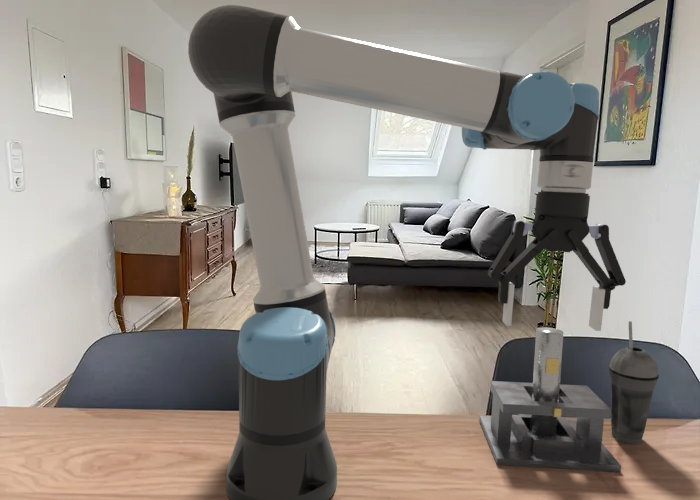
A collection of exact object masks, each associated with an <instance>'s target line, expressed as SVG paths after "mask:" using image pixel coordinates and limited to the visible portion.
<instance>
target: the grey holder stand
mask: <svg viewBox="0 0 700 500" xmlns="http://www.w3.org/2000/svg"><path fill="white" fill-rule="evenodd" d="M532 389H533V382H522V381H521V382H519V381H498V380H490V388H489V390H490V392H491V394H492V403H491V415H479V420H478V421H479V423H480V426H481V428H482V431H483V434H484V436H485V438H486V441H487V444H488V445H489V449H490V451H491V453H492V456H493V459H494V461H495V463H496V465H498V466H499V465H500V466H502V465H503V466H515V467H533V468H534V467H535V468H547V469H567V470H580V471H581V470H582V471H583V470H584V471H585V470H586V471H597V472H600V471H601V472H610V473H611V472H614V473H622V465H621V463H620V462H619V461H618V460H617V458H616V457H615V456H614V455H613V454H612V453H611V452H610V451H609V450H608V448H607V447H606V446H605V444H604V443H603V435H604V434H603V432H604V423H605V422H604V421H605V420H611V407H609V406H608V405H607V404H606V402H604V401H603V399H601V398H600V397H599V396H598V395H597V394H596V393H595V392H594V391H593V390H592V388H590V387H589V386H588V385H579V384H578V385H577V384H561V383H560V389H559V399H560V400H561V401H563V402H559V403H554V402H535V401H533V400H532ZM531 415H545V416H554V417H557V431H556V436H545V435H531V433H530V421H531ZM566 417H568V418H576V420H572V419H571V420H569V419H567V418H566Z"/></svg>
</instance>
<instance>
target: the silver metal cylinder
mask: <svg viewBox="0 0 700 500" xmlns="http://www.w3.org/2000/svg"><path fill="white" fill-rule="evenodd" d="M563 343H564V331H563V330H560V329H558V328H553V327H537V328H536V330H535V346H534V358H533V360H534V361H533V374H532V377H533V378H532V383H533V389H532V395H531V398H532V400H533V401H535V402H554V403H560V402H559V401H560V397H559V389H560V384H561V374H562V373H561V372H562V357H563V345H564V344H563ZM556 431H557V417H554V416H545V415H531V421H530V433H531V435H545V436H556Z"/></svg>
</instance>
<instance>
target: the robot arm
mask: <svg viewBox="0 0 700 500" xmlns="http://www.w3.org/2000/svg"><path fill="white" fill-rule="evenodd" d="M188 39H189V40H188V44H187V45H188V59H189V63H190V66H191V69H192V71H193V73H194V74H195V76H196V78H197V80H198V81H199V82H200V83H201V84H202V85H203V86H204V88H206V89H207V90H208V91H210V92H211V93H213V98H214V102H215V103H214V104H215V107H216V112H217V116H218V117H217V118H218V122H219V126H220V128H222V129H223V130H224V131H226V132H227V133H228V134H230V136H231V137H232V142H233V147H234V153H235V157H236V164H237V168H238V169H237V170H238V174H239V179H240V184H241V190H242V195H243V196H242V197H243V200H244V206H245V207H244V208H245V212H246V216H247V221H248V227H249V232H250V237H251V243H252V249H253V253H254V259H255V265H256V269H257V275H258V281H259V286H260V287H259V290H258V292H256V294H255V296H253V299H252V301H253V308H254V314H252V315H251V316H249V317H248V318H246V319H245V320H244V322H243V323H242V325H241V327H240V329H239V334H238V335H239V336H238V340H237V341H238V342H237V346H236V347H237V348H236V349H237V358H238V408H239V409H238V414H239V415H238V416H239V417H238V423H239V424H238V425H239V426H238V427H239V432H238V436H237V437H236V441H235V444H234V447H233V450H232V453H231V457H230V459H229V462H228V465H227V468H226V476H225V477H226V478H225V481H226V482H225V483H226V484H225V485H226V490H225V491H226V494H227V497H228V499H229V500H330V499H331V498H332V496H333V494H334V493H335V492H336V489H337V485H338V465H337V461H336V457H335V454H334V451H333V449H332V446H331V445H332V444H331V442H330V438H329V436H328V432H327V430H326V413H327V412H326V411H327V410H326V408H327V407H326V403H327V373H328V368H329V363H330V359H331V358H330V357H331V353H332V350H333V347H334V344H335V338H336V332H337V331H336V324H335V323H336V322H335V319H334V316H333V314H332V312H331V311H330V308H329V304H328V298H327V292H326V286H325V285H324V284H323V283H322V282H320V281H319V280H318V279H316V278H315V276H314V272H313V266H312V260H311V254H310V249H309V243H308V237H307V231H306V226H305V220H304V215H303V214H304V213H303V209H302V203H301V197H300V192H299V185H298V181H297V180H298V179H297V175H296V169H295V167H296V166H295V163H294V157H293V152H292V145H291V139H290V135H289V134H290V132H289V126H290V125H291V123H292V122H293V120H294V119H295V117H296V111H295V110H296V109H295V106H294V105H295V103H294V101H293V100H294V99H293V93H297V94H302V95H307V96H311V97H316V98H322V99H325V100H326V99H327V100H329V101H336V102H341V103H345V104H349V105H355V106H360V107H364V108H369V109H374V110H377V111H383V112H388V113H393V114H397V115H403V116H407V117H411V118H416V119H422V120H426V121H431V122H436V123H441V124H444V125H445V124H446V125H449V126H453V127H454V126H455V127H458V128H461V138H462V142H463V144H464V145H465V146H466V147H468V148H474V149H475V148H477V149H482V150H487V149H491V150H492V149H493V150H530V151H539V153H540V154H539V155H540V156H539V160H538V161H539V166H538V173H537V175H538V176H537V184H536V186H537V188H540V191H537V193H536V198H535V208H534V218H533V221H532V223H531V222H525V221H523V220H518V219H517V220H514V221H513V222H512V226H511V230H510V234H509V236H508V238H507V239H506V241H505V243H504V244H503V245H502V247H501V249H500V251H499V253H498V254H497V256H496V257H495V259H494V261H493V263H492V264H491V265H490V267H489V269H488V270H487V275H488V276H489V278H491V279H492V280H496V281H498V290H497V291H498V293H497V299H498V302H499V303H500V304H503V305H502V306H503V309H502V310H503V311H502V322H503V324H504V325H505V326H507V327H512V322H513V321H512V319H513V309H514V297H515V287H516V286H515V284H514V283H513V282H511V281H513V279H515V277H516V276H518V274H519V273H521V272H522V270H523V269H525V268H526V267H527V266H528V265H529V263H531V262H532V261H533V260H534V259H535V257H536V256H537V255H538V254H539V255H540V254H541V253H542V252H543V251H544V250H545V251H547V252H552V253H553V252H562V253H571V252H573V253H575V255H576V257H578V259H579V261H581V263H582V264H583V266H585V268H586V269H587V271H588V272H589V273H590V274H591V276H592V277H593V279H594V281H596V283H597V284H598V285H592V290H591V291H592V292H591V301H590V302H591V303H590V308H589V309H590V310H589V319H588V321H589V322H588V326H589V327H590V328H592V330H594V331H597V332H601V330H602V325H603V316H604V315H603V313H604V310H608V309H609V308H610V304H611V293H612V291H613V290H615V289H616V287H619V286H622V287H623V286H624V285H626V282H627V281H626V278H625V275H624V273H623V271H622V268H621V266H620V263H619V260H618V259H617V255H616V254H615V252H614V251H615V250H614V248H613V246H612V243H611V240H610V227H609V225H608V224H605V223H604V224H603V223H596V224H594V225H592V224H591V225H589V223H588V218H589V208H590V199H591V195H589V193H586V192H587V190H590V189H591V187H592V178H593V168H594V154H595V145H596V137H597V129H598V123H599V122H598V121H599V120H600V92H599V90H598V88H597V87H596V86H595V85H593V84H589V83H584V82H572V83H569V82H568V81H567V80H566V79H565V78H564V77H563V76H562V75H560V74H559V73H557V72H552V71H547V70H546V71H545V70H544V71H537V72H532V73H530V74H526V75H522V74H517V73H512V72H509V71H507V72H505V71H503V70H502V71H500V70H497V69H496V70H495V69H493V68H492V69H491V68H487V67H483V66H477V65H472V64H468V63H464V62H459V61H456V60H455V61H454V60H450V59H445V58H441V57H436V56H431V55H427V54H423V53H422V54H421V53H419V52H413V51H410V50H409V51H407V50H403V49H399V48H394V47H389V46H385V45H382V44H376V43H372V42H367V41H362V40H358V39H353V38H349V37H344V36H339V35H334V34H330V33H325V32H321V31H317V30H312V29H308V28H304V27H300V26H299V25H298V23H297V22H296V20H295V19H294V17H293V16H290V15H287V14H281V13H276V12H271V11H268V10H263V9H258V8H255V7H250V6H243V5H237V4H226V5H221V6H218V7H215V8H212V9H210V10H208V11H207V12H206V13H204V14H203V15H202V16H201V17H200V18H199V19H198V20H197V21H196V23H194V26H193V28H192V30H191V32H190V35H189V38H188ZM529 231H530V232H531V234H532V235H533V236H534V239H533V240H532V241H531V242H530V243H528V245H527V247H526V248H525V249H524V250H522V252H521V253H520V254H519V255H518V256H517V257H516V258H515V259H514V260H513V261H512V262H511V263H510V264H509V265H508V266H507V264H508V262H509V260H510V259H511V257H513V254H514V252H515V250H517V247H518V246H519V244H520V242H521V241H522V238H523V236H526V235H528V233H529ZM589 234H590V237H591V238H592V239H593V240H594V242H595V246H596V247H597V250H598V253H599V255H600V257H601V260H602V262H603V265H604V267H605V271H606V272H605V271H604V269H602V267H601V266H600V264H599V263H598V262H597V260H596V259H595V258H594V256H593V255H592V253H591V252H590V250H589V248H588V247H587V245H585V243H584V241H583V240H585V238H586V237H587V236H588V235H589ZM506 266H507V267H506ZM505 267H506V268H505ZM504 268H505V269H504ZM607 274H608V275H607Z"/></svg>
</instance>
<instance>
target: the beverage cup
mask: <svg viewBox="0 0 700 500" xmlns="http://www.w3.org/2000/svg"><path fill="white" fill-rule="evenodd" d="M633 345H634V343H633V322H632V321H628V347H624V348H621V349H619V350H617V352H615V353H614V355H613V356H612V358H611V360H610V363H609V365H608V370H609V371H608V372H609V380H610V409H611V417H610V427H611V436H612V437H613V438H614V439H616V440H618V441H620V442H623V443H625V444H631V445H637V444H639V445H640V444H641V443H642V441H643V438H644V433H645V431H646V425H647V422H648V421H647V420H648V416H649V412H650V406H651V404H652V403H651V402H652V397H653V392H654V390H655V389H656V384H657V382H658V380H659V377H660V375H659V369H658V365H657V362H656V361H655V359H654V357H653V356H652V355H651V354H650V353H649V351H648V352H647V351H646V350H644V349H642V348H640V347H636V346H633Z"/></svg>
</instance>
